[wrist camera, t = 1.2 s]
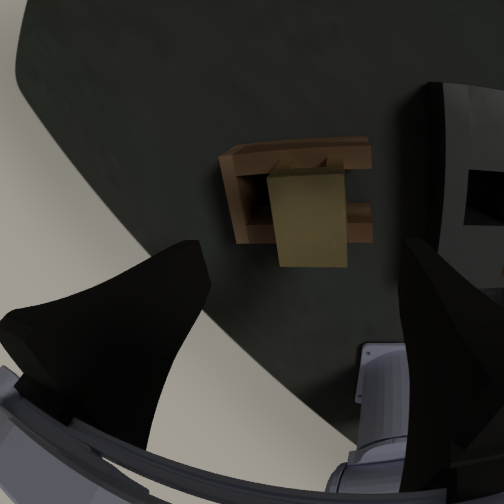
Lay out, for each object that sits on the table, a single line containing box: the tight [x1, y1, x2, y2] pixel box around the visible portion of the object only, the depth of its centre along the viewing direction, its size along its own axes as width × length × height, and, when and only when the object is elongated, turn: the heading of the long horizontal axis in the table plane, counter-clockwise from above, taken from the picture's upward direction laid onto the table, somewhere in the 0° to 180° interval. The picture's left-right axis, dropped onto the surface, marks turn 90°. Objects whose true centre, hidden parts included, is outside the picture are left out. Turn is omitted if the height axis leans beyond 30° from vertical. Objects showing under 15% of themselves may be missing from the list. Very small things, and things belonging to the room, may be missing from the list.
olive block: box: [266, 156, 348, 267], centre depth 16 cm, size 4×3×6 cm
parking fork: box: [218, 136, 373, 244], centre depth 17 cm, size 5×8×3 cm
